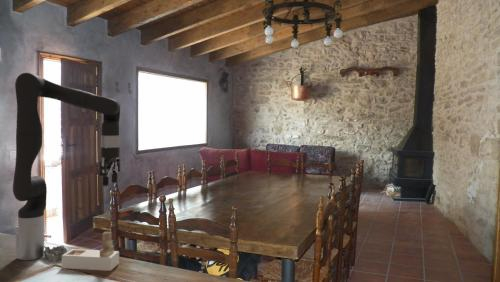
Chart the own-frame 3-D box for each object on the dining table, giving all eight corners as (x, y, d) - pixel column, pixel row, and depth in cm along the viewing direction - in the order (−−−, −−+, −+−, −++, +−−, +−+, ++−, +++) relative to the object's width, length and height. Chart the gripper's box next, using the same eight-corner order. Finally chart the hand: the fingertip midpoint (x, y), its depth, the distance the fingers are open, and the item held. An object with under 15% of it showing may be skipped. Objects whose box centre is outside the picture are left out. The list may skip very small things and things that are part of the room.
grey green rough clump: (42, 255, 159) (42, 245, 159) (62, 251, 164) (62, 242, 164) (48, 262, 151) (48, 252, 151) (68, 259, 156) (68, 249, 156)
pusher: (99, 256, 146) (99, 234, 145) (106, 251, 152) (106, 230, 151) (107, 256, 146) (107, 235, 145) (114, 251, 152) (114, 230, 151)
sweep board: (61, 268, 146) (61, 255, 146) (72, 261, 154) (72, 248, 154) (110, 270, 145) (110, 257, 145) (119, 263, 152) (119, 251, 152)
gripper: (109, 144, 168) (109, 181, 169) (93, 147, 154) (93, 186, 155) (125, 145, 168) (125, 181, 168) (111, 147, 153) (111, 187, 154)
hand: (110, 184), depth 162 cm, fingers open, 8 cm apart
